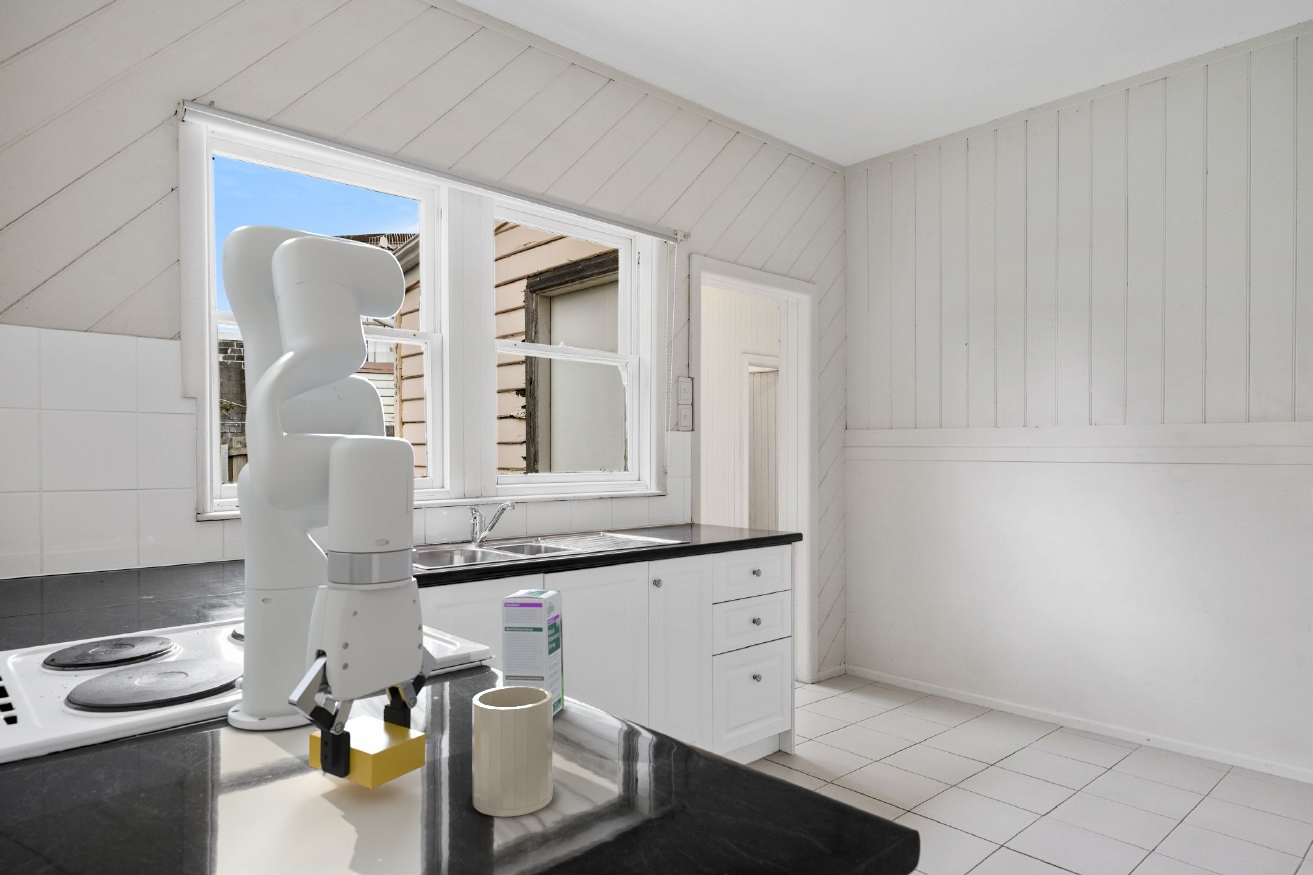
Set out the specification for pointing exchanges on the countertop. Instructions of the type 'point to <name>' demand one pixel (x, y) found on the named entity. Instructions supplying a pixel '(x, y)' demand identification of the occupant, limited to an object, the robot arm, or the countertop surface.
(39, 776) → the countertop surface
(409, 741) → the block
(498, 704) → the cup
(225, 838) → the countertop surface
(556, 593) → the syrup box
